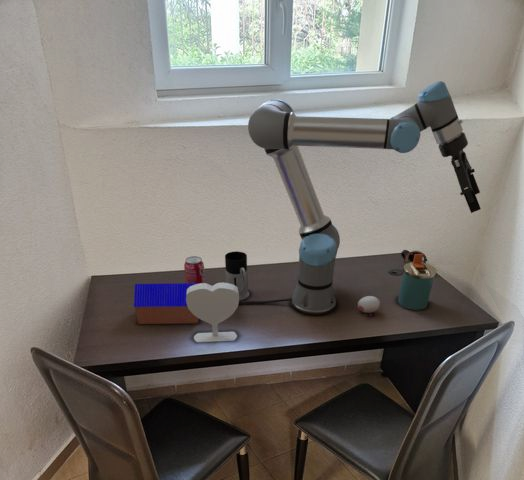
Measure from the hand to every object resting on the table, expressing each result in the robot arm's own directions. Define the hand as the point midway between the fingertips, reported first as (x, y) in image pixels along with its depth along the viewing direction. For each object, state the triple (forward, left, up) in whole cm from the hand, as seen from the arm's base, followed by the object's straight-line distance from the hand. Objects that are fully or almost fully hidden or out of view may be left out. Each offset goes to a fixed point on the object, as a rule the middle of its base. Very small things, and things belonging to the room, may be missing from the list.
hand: (475, 202), depth 143 cm
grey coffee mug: (-71, +21, -35) cm, 82 cm away
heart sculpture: (-84, -1, -35) cm, 91 cm away
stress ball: (-31, +1, -35) cm, 47 cm away
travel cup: (-13, +2, -35) cm, 37 cm away
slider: (-13, +4, -22) cm, 25 cm away
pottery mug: (+1, +27, -35) cm, 44 cm away
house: (-96, +16, -35) cm, 104 cm away
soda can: (-85, +31, -35) cm, 97 cm away
